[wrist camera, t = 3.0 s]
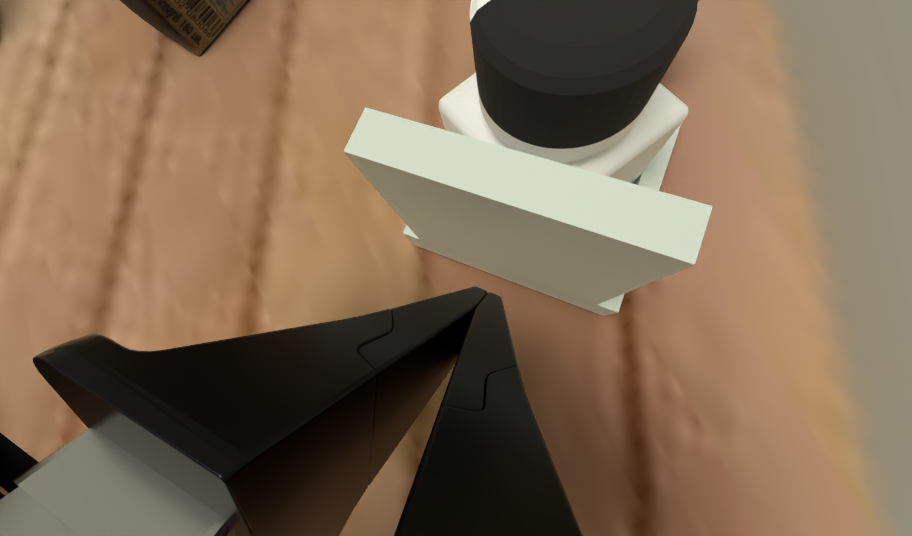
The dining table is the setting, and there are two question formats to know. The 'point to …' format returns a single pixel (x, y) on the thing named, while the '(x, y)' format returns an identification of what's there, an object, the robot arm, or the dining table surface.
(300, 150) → the dining table surface
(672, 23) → the medicine bottle
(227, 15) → the beverage carton
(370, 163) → the white angle bracket
